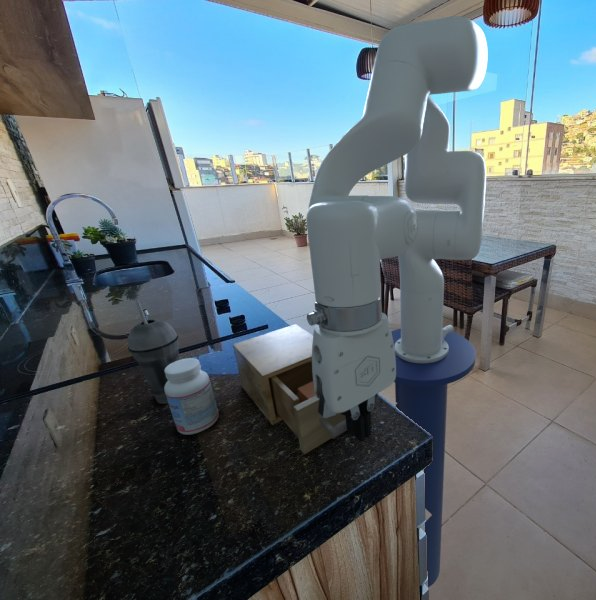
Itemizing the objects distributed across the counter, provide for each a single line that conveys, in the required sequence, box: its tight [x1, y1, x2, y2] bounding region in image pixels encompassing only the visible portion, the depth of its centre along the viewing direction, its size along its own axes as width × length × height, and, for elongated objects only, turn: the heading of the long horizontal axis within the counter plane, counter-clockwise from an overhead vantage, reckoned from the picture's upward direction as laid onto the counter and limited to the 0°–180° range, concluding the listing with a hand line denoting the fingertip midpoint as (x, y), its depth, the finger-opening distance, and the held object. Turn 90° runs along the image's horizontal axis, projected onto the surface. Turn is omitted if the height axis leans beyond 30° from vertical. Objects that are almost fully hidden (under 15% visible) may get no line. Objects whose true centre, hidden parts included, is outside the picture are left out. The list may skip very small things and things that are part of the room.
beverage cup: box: [127, 298, 181, 405], centre depth 57 cm, size 7×7×20 cm
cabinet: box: [232, 323, 313, 426], centre depth 60 cm, size 15×13×10 cm
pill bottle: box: [164, 357, 220, 436], centre depth 52 cm, size 6×6×11 cm
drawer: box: [268, 360, 348, 455], centre depth 51 cm, size 18×11×8 cm, turn 43°
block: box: [297, 381, 316, 403], centre depth 52 cm, size 4×4×4 cm
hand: (359, 433), depth 44 cm, fingers closed
